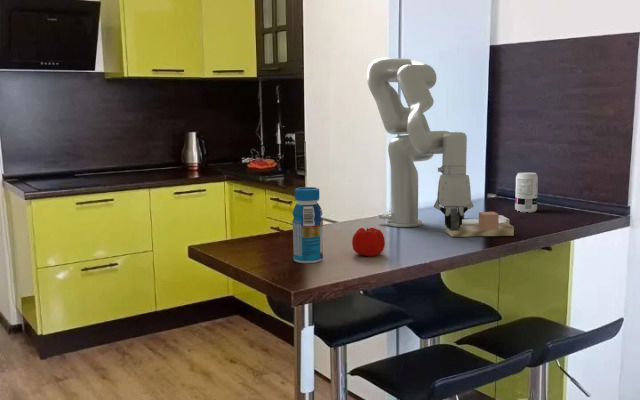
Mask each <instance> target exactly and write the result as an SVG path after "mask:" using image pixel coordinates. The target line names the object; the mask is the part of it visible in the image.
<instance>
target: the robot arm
mask: <svg viewBox="0 0 640 400" xmlns="http://www.w3.org/2000/svg"><path fill="white" fill-rule="evenodd" d="M437 79H438V78H437V73H436V71H435V69H434V67H433V66H431V65H429V64H428V63H427V64H426V63H423V62H420V61H418V60H417V61H416V60H414V59H411V58H398V57H380V58H377V59H373V61H371V62H370V64H369V65H368V68H367V72H366V80H367V85H368V88H369V91H370V93H371V95H372V97H373V100H375V103H376V106H377V109H378V113H379V115H380V118H381V120H382V121H381V122H382V125H383V127H384V130H385V131H386V132H387V133H388V134H389V135H397V136H394V137H393V138H392V139H391V140H390V141H389V144H388V148H387V152H388V157H389V164H390V165H389V166H390V184H391V185H390V187H391V188H390V197H391V199H390V210H388V212H386V213H377V219H378V220H386V225H387V226H390V227H394V228H395V227H396V228H414V227H420V226H422V225H423V220H421V219H419V173H418V172H419V171H418V170H417V167H416V165H415V163H416V162H426V161H429V160H430V159H432V158H433V157H434V155H441V154H442V160H441V161H442V163H441V164H442V165H441V166H440V167H437V172H438V173H441V174H440V175H439V180H438V185H437V186H438V187H437V195H436V196H437V197H436V198H437V199H436V200H435V202H434V205H433V208H435V209H436V210H438V211H440V212H441V213H442V214H444V215H443V216H444V226H445V228H446V227H447V228H450V227H451V216H450V214H449V210H450V207H457V208H458V213H457V214H458V215H459V228H460V225H462V216H463V214H464V215H465V213H467V211H468V210H470V209H473V208H474V204H473V201H472V193H471V191H472V190H471V180H470V176H469V175H468V174H467V148H468V147H467V145H468V144H467V143H468V138H467V134H466V133H465V132H462V131H461V132H460V131H459V132H458V131H454V132H453V131H448V130H431V128H430V126H429V123H428V121H427V118H426V115H425V114H424V113H425V112H427V111H429V110H430V109H431V108H432V107H433V106H434V103H435V101H434V98H433V96H432V93H431V92H430V89H433V88H434V87H435V86H436V83H437ZM390 83H398V85H399V87H400V90H401V93H402V95H403V98H404V100H405V101H406V104H407V107H405V106H404V105H403V103H402V101H401V98H400V95H399V93H398V92H397V90H396V89H395V88H394V87H393V86H392V85H391V84H390ZM414 162H415V163H414ZM463 206H464V207H463Z"/></svg>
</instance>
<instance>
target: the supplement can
mask: <svg viewBox="0 0 640 400" xmlns="http://www.w3.org/2000/svg"><path fill="white" fill-rule="evenodd" d="M538 176H539V175H537V173H536V172H517V174H516V175H515V191H514V192H515V193H514V194H515V198H514V210H517V211H516V212H518V211H520V212H519V213H526V212H528V213H536V211H537V210H538V192H539V191H538V189H539V188H538V187H539V186H538V185H539V177H538Z"/></svg>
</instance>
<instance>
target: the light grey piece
mask: <svg viewBox="0 0 640 400" xmlns="http://www.w3.org/2000/svg"><path fill="white" fill-rule="evenodd" d="M449 213H458V208H456V207H450V210H449ZM502 222H506V223H508V224H510V219H509V218H508V217H506V216H504V215H499V223H498V226H502ZM467 226H479V218H476V219H475V218H474V219H468V218H467V219H465V218H464V219H463V220H462V225H460V227H467Z"/></svg>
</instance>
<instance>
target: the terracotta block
mask: <svg viewBox="0 0 640 400" xmlns="http://www.w3.org/2000/svg"><path fill="white" fill-rule="evenodd" d="M478 219H479V228H481V229H482V230H498V223H499V213H497V212H496V211H478Z"/></svg>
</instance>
